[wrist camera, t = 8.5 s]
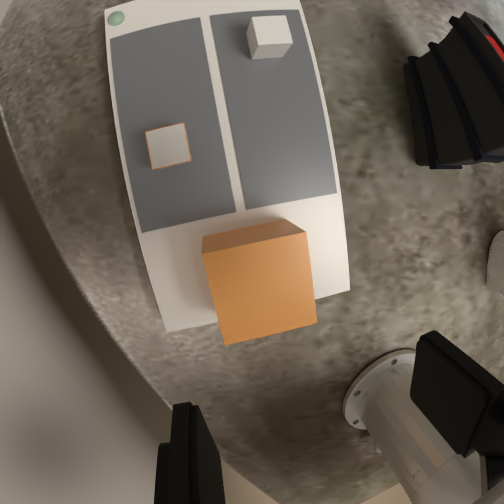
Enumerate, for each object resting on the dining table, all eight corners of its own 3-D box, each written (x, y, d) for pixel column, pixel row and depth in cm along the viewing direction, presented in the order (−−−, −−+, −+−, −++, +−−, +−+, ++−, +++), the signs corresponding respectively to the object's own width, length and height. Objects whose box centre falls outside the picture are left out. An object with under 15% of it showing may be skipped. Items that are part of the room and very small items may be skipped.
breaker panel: (338, 280, 28) (351, 291, 25) (169, 319, 27) (166, 334, 24) (286, -6, 20) (294, -21, 18) (111, 21, 19) (103, 8, 16)
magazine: (424, 199, 26) (537, 127, 11) (382, 89, 28) (446, -6, 13) (450, 197, 26) (556, 134, 11) (408, 92, 28) (474, 7, 14)
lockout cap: (297, 295, 25) (317, 322, 20) (220, 312, 24) (224, 345, 20) (285, 219, 23) (306, 231, 19) (202, 236, 23) (201, 254, 18)
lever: (282, 57, 20) (293, 43, 17) (251, 59, 19) (258, 45, 17) (276, 31, 19) (285, 15, 16) (246, 34, 19) (251, 17, 16)
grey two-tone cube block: (193, 162, 21) (191, 160, 18) (159, 170, 21) (152, 169, 18) (187, 129, 20) (184, 122, 17) (153, 137, 20) (145, 131, 17)
